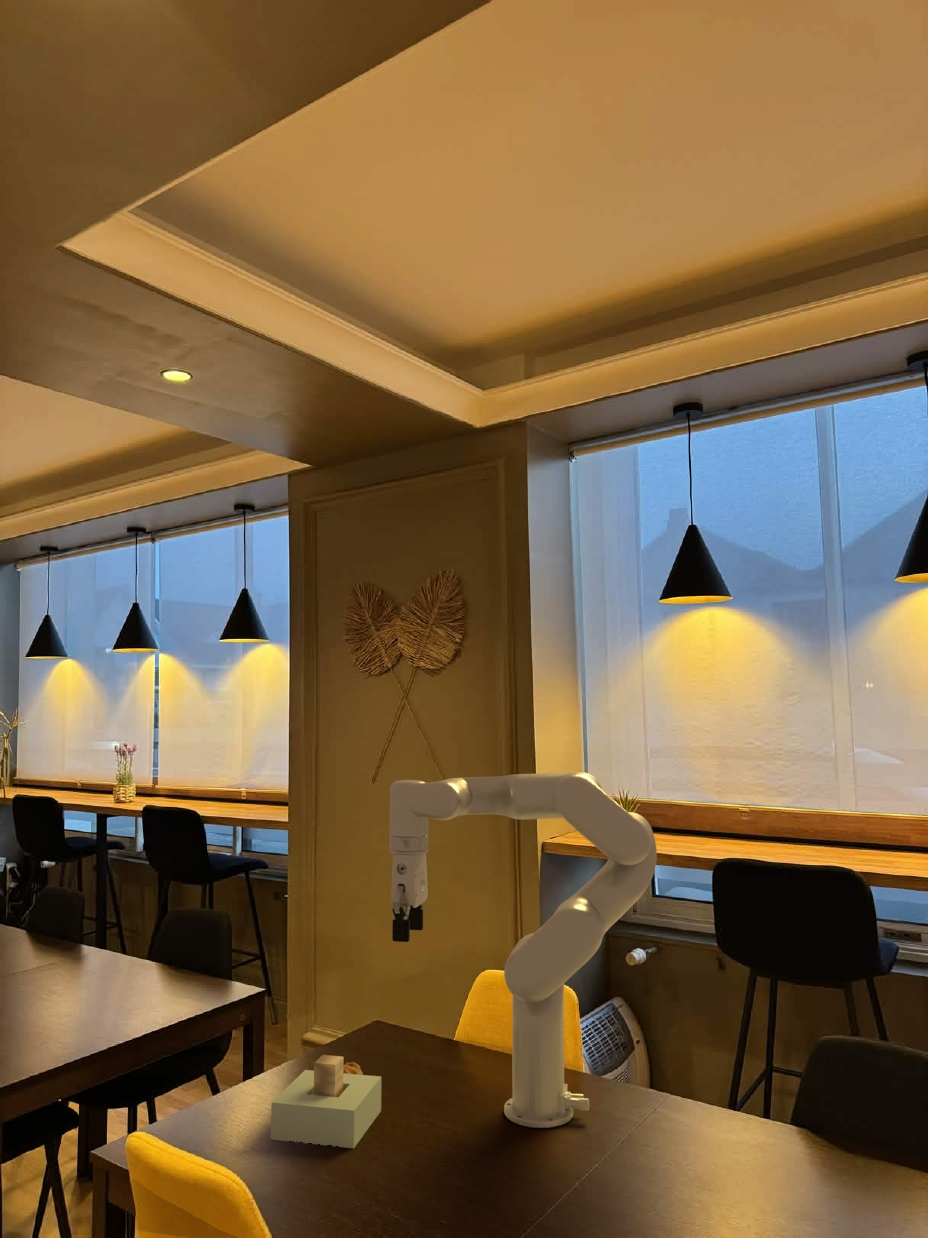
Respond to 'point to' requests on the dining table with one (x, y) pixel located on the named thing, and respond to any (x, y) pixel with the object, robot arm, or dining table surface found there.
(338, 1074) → the birch block
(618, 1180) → the dining table surface
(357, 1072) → the pastry
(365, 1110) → the well block
